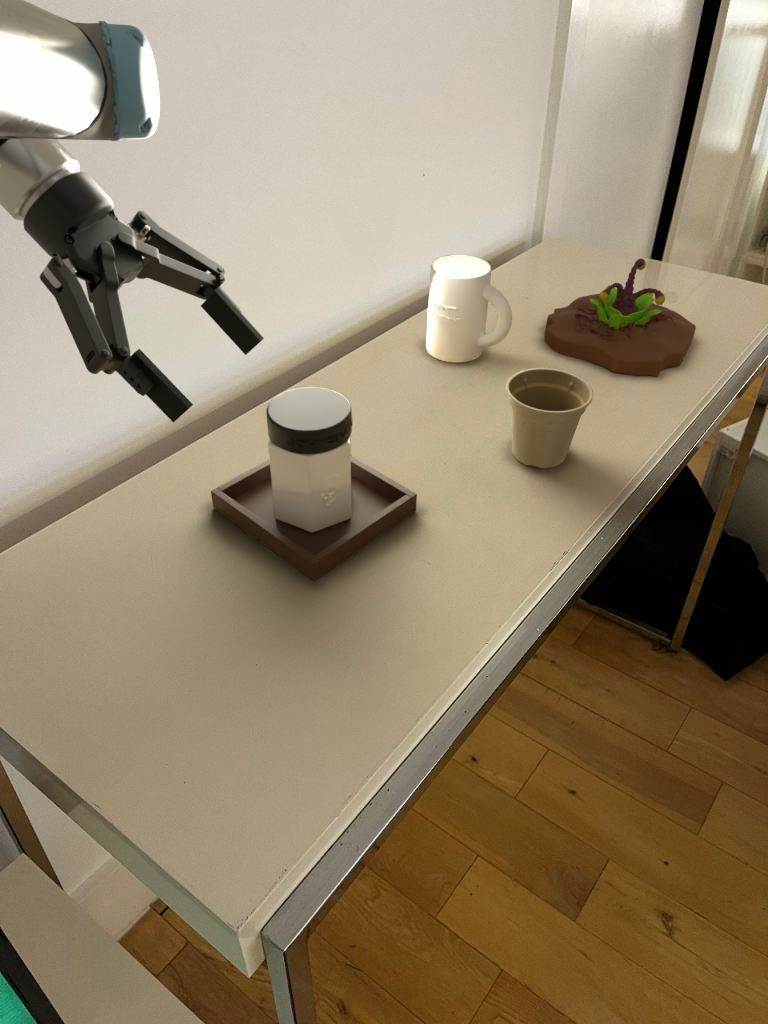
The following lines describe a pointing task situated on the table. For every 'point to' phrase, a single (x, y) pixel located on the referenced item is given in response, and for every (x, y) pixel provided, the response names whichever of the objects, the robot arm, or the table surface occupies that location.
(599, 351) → the plant
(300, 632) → the table surface
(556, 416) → the flower pot
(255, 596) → the table surface
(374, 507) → the tray
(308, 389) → the jar
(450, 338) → the mug
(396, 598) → the table surface
